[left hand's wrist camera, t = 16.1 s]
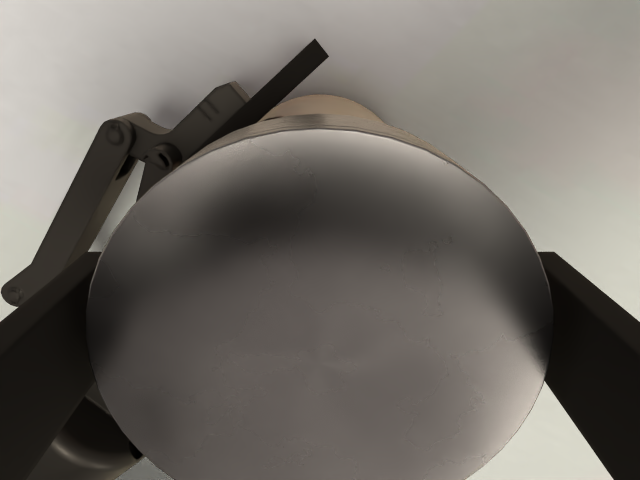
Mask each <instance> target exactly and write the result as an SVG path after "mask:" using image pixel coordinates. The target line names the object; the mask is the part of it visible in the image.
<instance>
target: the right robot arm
mask: <svg viewBox="0 0 640 480" xmlns="http://www.w3.org/2000/svg"><path fill="white" fill-rule="evenodd" d="M328 57H329V56H328V55H327V53H326V52H325V51H324V49H323V48H322V47H321V46H320V44H319V43H318V42H317V41H316V39H314V40H313V41H312V42H311V43H310V44H308V45H307V46H306V47H305V48H304V49H303V50H302V51H301V52H300V53H299V54H298V55H297V56H296V57H295V58H294V59H293V60H292V61H290V62H289V63H288V64H287V65H286V66H285V67H284V68H283V69H282V70H281V71H280V72H279V73H278V74H277V75H276V76H275V77H273V78H272V79H271V80H270V81H269V82H268V83H267V84H266V85H265V86H264V87H263V88H262V89H261V90H260V91H259V92H258V93H257V94H255V95H254V96H253V97H252V98H250V97H249V96H248V95H247V94H246V93H245V92H244V90H243V89H242V88H241V87H240V86H239V85H238V84H237V82H236V81H235V82H231V83H227V84H225V85H222V86H219V87H217V88H215V89H214V90H213V91H212V92H211V93H210V94H209V95H208V96H207V97H206V98H205V99H204V100H203V101H202V102H201V103H199V104H198V106H197V107H195V108H194V109H193V110H192V111H191V112H190V113H189V114H188V115H187V116H186V117H185V118H184V119H183V120H182V121H181V122H180V123H179V124H178V125H177V126H176V127H175V128H174V129H165V128H163V127H161V126H159V125H157V124H155V123H153V122H152V121H151V120H150V118H149V117H148V116H146V115H145V114H142V113H136V112H135V113H131V114H128V115H124V116H121V117H117V118H114V119H110V120H108V121H105V122H104V123H103V124H102V125H101V126H100V128H99V130H98V132H97V134H96V136H95V138H94V140H93V142H92V144H91V146H90V148H89V150H88V152H87V154H86V156H85V158H84V160H83V162H82V164H81V166H80V168H79V170H78V172H77V174H76V176H75V178H74V180H73V182H72V184H71V186H70V188H69V190H68V192H67V194H66V196H65V198H64V200H63V202H62V204H61V206H60V208H59V210H58V212H57V214H56V216H55V218H54V220H53V222H52V224H51V226H50V228H49V229H48V231H47V233H46V235H45V237H44V239H43V241H42V243H41V245H40V247H39V249H38V251H37V253H36V255H35V257H34V259H33V261H32V263H31V264H30V265H29V266H28V267H27V268H25V269H24V270H23V271H21V272H20V273H19V274H17V275H16V276H15V277H14V278H12V279H11V280H10V281H8V282H7V283H6V284H4V286H3V287H2V289H1V294H2V297H3V299H4V300H5V301H6V302H7V303H9V304H10V305H13V306H16V307H19V306H20V305H22V304H23V303H24V302H25V301H27V300H28V299H29V298H30V297H31V296H33V295H34V294H35V293H36V292H38V291H39V290H40V289H41V288H42V287H44V286H45V285H46V284H47V283H49V282H50V281H51V280H52V279H53V278H55V277H56V276H57V275H58V274H59V273H61V272H62V271H63V270H64V269H66V268H67V267H68V266H69V265H70V264H72V263H73V262H74V261H75V260H77V259H78V258H79V257H80V256H81V255H83V254H84V253H85V252H88V250H89V249H90V247H91V245H92V243H93V242H94V240H95V238H96V236H97V234H98V233H99V231H100V229H101V227H102V225H103V223H104V222H105V220H106V218H107V216H108V214H109V213H110V211H111V209H112V207H113V205H114V203H115V202H116V200H117V198H118V196H119V194H120V193H121V191H122V189H123V187H124V185H125V184H126V182H127V180H128V178H129V176H130V174H131V173H132V171H133V169H134V167H135V165H136V164H137V162H138V160H141V161H143V162H145V167H144V171H143V175H142V179H141V183H140V188H139V192H138V196H137V200H136V202H137V201H138V200H139V199H140V198H141V197H142V196H143V195H144V194H145V193H146V192H147V191H148V190H149V189H150V188H152V187H153V186H154V185H155V184H156V183H157V182H159V181H160V180H161V179H163V178H164V177H165V176H167V175H168V174H169V173H171V172H172V171H173V170H175V169H176V168H177V167H179V166H180V165H181V164H183V163H184V162H185V161H186V160H188V159H189V158H191V157H192V156H193V155H195V154H196V153H198V152H199V151H200V150H202V149H203V148H204V147H206V146H207V145H209V144H210V143H212V142H214V141H216V140H218V139H220V138H222V137H224V136H226V135H228V134H230V133H231V132H233V131H236V130H239V129H242V128H244V127H247V126H250V125H253V124H256V123H257V122H258V121H259V120H261V119H262V118H263V117H264V116H265V115H266V114H267V113H268V112H269V111H270V110H271V109H272V108H274V107H275V106H276V105H277V104H278V103H279V102H280V101H281V100H282V99H283V98H284V97H285V96H287V95H288V94H289V93H290V92H291V91H292V90H293V89H294V88H295V87H296V86H297V85H299V84H300V83H301V82H302V81H303V80H304V79H305V78H306V77H307V76H308V75H309V74H310V73H312V72H313V71H314V70H315V69H316V68H317V67H318V66H319V65H320V64H321V63H322V62H324V61H325V60H326V59H327V58H328ZM144 457H145V455H143V454H142V453H141V452H140V451H139V450H138V449H137V448H136V446H135V445H134V444H133V443H132V442H131V441H130V440H129V438H128V437H127V436H126V435H125V434H124V433H123V431H122V430H121V428H120V427H119V425H118V424H117V422H116V421H115V419H114V418H113V416H112V415H111V413H110V412H109V410H108V408H107V406H106V404H105V402H104V400H103V398H102V396H101V394H100V392H99V390H98V387H97V384H96V381H95V382H94V384H93V385H92V386H91V388H90V389H89V391H88V392H87V394H86V395H85V396H84V398H83V399H82V401H81V402H80V404H79V405H78V406H77V408H76V409H75V411H74V412H73V414H72V415H71V416H70V418H69V419H68V421H67V422H66V424H65V425H64V426H63V428H62V429H61V431H60V432H59V434H58V435H57V436H56V438H55V439H54V441H53V442H52V444H51V445H50V446H49V448H48V449H47V451H46V452H45V454H44V455H43V456H42V458H41V459H40V461H39V462H38V464H37V465H36V466H35V468H34V469H33V471H32V472H31V474H30V475H29V476H28V478H27V479H26V480H114V479H116V478H117V477H118V476H120V475H121V474H122V473H124V472H125V471H127V470H128V469H129V468H131V467H132V466H133V465H135V464H136V463H137V462H139V461H140V460H141V459H143V458H144Z"/></svg>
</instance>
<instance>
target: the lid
mask: <svg viewBox="0 0 640 480" xmlns="http://www.w3.org/2000/svg"><path fill="white" fill-rule="evenodd" d="M553 337H554V326H553V305H552V299H551V294H550V288H549V282H548V279H547V277H546V274H545V271H544V268H543V265H542V262H541V259H540V256H539V254H538V253H537V251H536V249H535V247H534V245H533V243H532V241H531V239H530V238H529V236H528V234H527V232H526V230H525V229H524V228H523V226H522V225H521V224H520V222H519V221H518V220H517V218H516V217H515V216H514V215H513V213H512V212H511V211H510V209H509V208H508V207H507V206H506V205H505V204H504V203H503V202H502V201H501V200H500V199H499V198H498V197H497V196H496V195H495V194H494V193H493V192H492V191H491V190H490V189H489V188H488V187H487V186H486V185H485V184H484V183H482V182H481V181H480V180H478V179H477V178H476V177H474V176H473V175H472V174H470V173H469V172H468V171H466V170H465V169H464V168H462V167H461V166H460V165H458V164H457V163H456V162H454V161H453V160H452V159H450V158H449V157H448V156H446V155H445V154H443V153H442V152H441V151H439V150H438V149H436V148H435V147H434V146H432V145H431V144H429V143H427V142H425V141H423V140H421V139H420V138H418V137H416V136H414V135H412V134H410V133H408V132H406V131H404V130H401V129H398V128H395V127H392V126H390V125H387V124H384V123H381V122H378V121H374V120H369V119H364V118H359V117H354V116H349V115H335V114H305V115H291V116H285V117H280V118H276V119H271V120H266V121H261V122H258V123H256V124H253V125H250V126H247V127H244V128H242V129H239V130H236V131H233V132H231V133H230V134H228V135H226V136H224V137H222V138H220V139H218V140H216V141H214V142H212V143H210V144H209V145H207V146H206V147H204V148H203V149H202V150H200V151H199V152H198V153H196V154H195V155H193V156H192V157H191V158H189V159H188V160H186V161H185V162H184V163H183V164H181V165H180V166H179V167H177V168H176V169H175V170H173V171H172V172H171V173H169V174H168V175H167V176H165V177H164V178H163V179H161V180H160V181H159V182H157V183H156V184H155V185H154V186H153V187H152V188H150V189H149V190H148V191H147V192H146V193H145V194H144V195H143V196H142V197H141V198H140V199H139V200H138V201H137V202H136V203H135V204H134V205H133V206H132V207H131V208H130V210H129V211H128V212H127V214H126V215H125V216H124V218H123V219H122V220H121V222H120V223H119V224H118V226H117V227H116V228H115V230H114V231H113V233H112V235H111V236H110V238H109V240H108V242H107V244H106V246H105V248H104V250H103V252H102V254H101V255H100V257H99V260H98V263H97V266H96V269H95V272H94V275H93V278H92V281H91V284H90V290H89V296H88V302H87V309H86V341H87V348H88V354H89V360H90V365H91V368H92V372H93V375H94V378H95V381H96V384H97V387H98V390H99V392H100V394H101V396H102V398H103V400H104V402H105V404H106V406H107V408H108V410H109V412H110V413H111V415H112V416H113V418H114V419H115V421H116V422H117V424H118V425H119V427H120V428H121V430H122V431H123V433H124V434H125V435H126V436H127V437H128V438H129V440H130V441H131V442H132V443H133V444H134V445H135V446H136V448H137V449H138V450H139V451H140V452H141V453H142V454H143V455H145V456H146V457H147V458H148V459H149V460H150V461H151V462H152V463H153V464H154V465H155V466H157V467H158V468H159V469H161V470H162V471H163V472H165V473H166V474H168V475H169V476H170V477H172V478H173V479H174V480H465V479H467V478H468V477H469V476H471V475H472V474H473V473H475V472H476V471H477V470H479V469H480V468H482V467H483V466H484V465H485V464H486V463H487V462H488V461H490V460H491V459H492V458H493V457H494V456H495V455H496V454H497V453H498V452H499V451H500V450H501V449H502V448H503V447H504V446H505V445H506V444H507V443H508V441H509V440H510V439H511V438H512V437H513V435H514V434H515V433H516V432H517V431H518V429H519V428H520V426H521V425H522V423H523V422H524V420H525V419H526V417H527V416H528V414H529V413H530V411H531V409H532V407H533V405H534V403H535V401H536V399H537V397H538V395H539V393H540V390H541V388H542V386H543V383H544V380H545V376H546V373H547V370H548V367H549V363H550V358H551V351H552V344H553Z"/></svg>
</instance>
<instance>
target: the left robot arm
mask: <svg viewBox="0 0 640 480" xmlns="http://www.w3.org/2000/svg"><path fill="white" fill-rule="evenodd" d="M537 253H538V254H539V256H540V259H541V262H542V265H543V268H544V271H545V274H546V277H547V279H548V282H549V288H550V294H551V299H552V305H553V326H554V337H553V344H552V351H551V358H550V363H549V367H548V370H547V373H546V376H545V380H544V381H545V382H546V384H547V385H548V386H549V388H550V389H551V391H552V392H553V394H554V395H555V396H556V398H557V399H558V401H559V402H560V404H561V405H562V406H563V408H564V409H565V411H566V412H567V414H568V415H569V416H570V418H571V419H572V421H573V422H574V424H575V425H576V426H577V428H578V429H579V431H580V432H581V434H582V435H583V436H584V438H585V439H586V441H587V442H588V444H589V445H590V446H591V448H592V449H593V451H594V452H595V454H596V455H597V456H598V458H599V459H600V461H601V462H602V464H603V465H604V466H605V468H606V469H607V471H608V472H609V474H610V475H611V476H612V478H613V479H614V480H640V322H639V321H638V320H637V319H635V318H634V317H633V316H632V315H630V314H629V313H628V312H627V311H626V310H624V309H623V308H622V307H621V306H620V305H618V304H617V303H616V302H615V301H613V300H612V299H611V298H610V297H609V296H607V295H606V294H605V293H604V292H602V291H601V290H600V289H599V288H598V287H596V286H595V285H594V284H593V283H591V282H590V281H589V280H588V279H587V278H585V277H584V276H583V275H582V274H581V273H579V272H578V271H577V270H576V269H574V268H573V267H572V266H571V265H570V264H568V263H567V262H566V261H565V260H563V259H562V258H561V257H560V256H559V255H557V254H556V253H555V252H537ZM101 254H102V252H85V253H84V254H83V255H81V256H80V257H79V258H78V259H77V260H75V261H74V262H73V263H72V264H70V265H69V266H68V267H67V268H66V269H64V270H63V271H62V272H61V273H59V274H58V275H57V276H56V277H55V278H53V279H52V280H51V281H50V282H49V283H47V284H46V285H45V286H44V287H42V288H41V289H40V290H39V291H38V292H36V293H35V294H34V295H33V296H31V297H30V298H29V299H28V300H27V301H25V302H24V303H23V304H22V305H20V306H19V307H18V308H17V309H16V310H14V311H13V312H12V313H11V314H10V315H8V316H7V317H6V318H5V319H3V320H2V321H1V322H0V480H26V479H27V478H28V476H29V475H30V474H31V472H32V471H33V469H34V468H35V466H36V465H37V464H38V462H39V461H40V459H41V458H42V456H43V455H44V454H45V452H46V451H47V449H48V448H49V446H50V445H51V444H52V442H53V441H54V439H55V438H56V436H57V435H58V434H59V432H60V431H61V429H62V428H63V426H64V425H65V424H66V422H67V421H68V419H69V418H70V416H71V415H72V414H73V412H74V411H75V409H76V408H77V406H78V405H79V404H80V402H81V401H82V399H83V398H84V396H85V395H86V394H87V392H88V391H89V389H90V388H91V386H92V385H93V384H94V382H95V378H94V375H93V372H92V368H91V365H90V360H89V354H88V348H87V341H86V309H87V302H88V296H89V290H90V284H91V281H92V278H93V275H94V272H95V269H96V266H97V263H98V260H99V257H100V255H101Z"/></svg>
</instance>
